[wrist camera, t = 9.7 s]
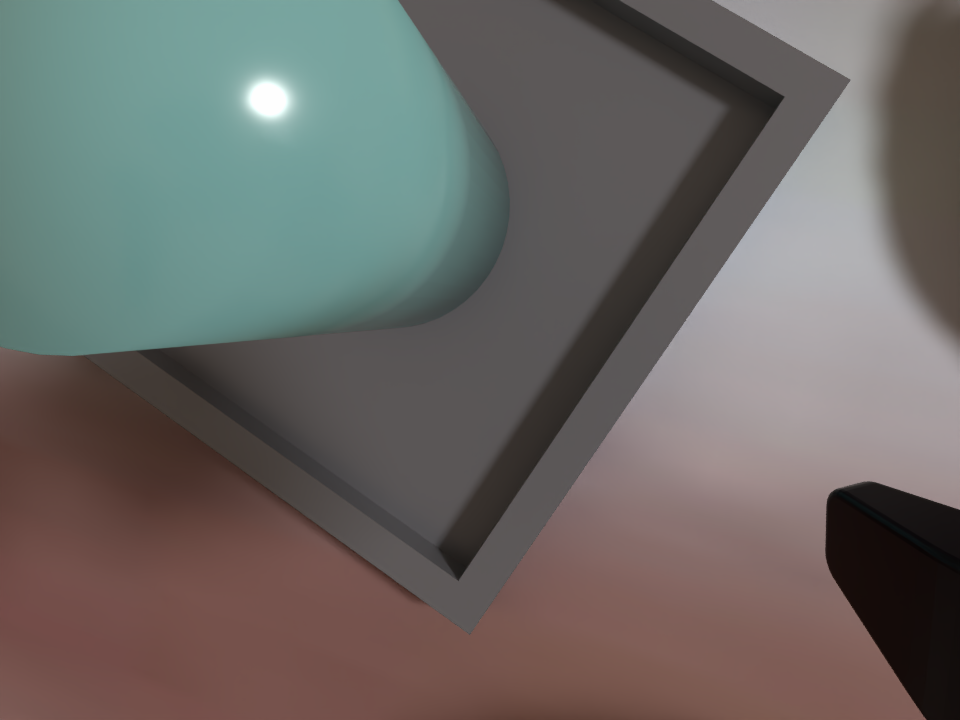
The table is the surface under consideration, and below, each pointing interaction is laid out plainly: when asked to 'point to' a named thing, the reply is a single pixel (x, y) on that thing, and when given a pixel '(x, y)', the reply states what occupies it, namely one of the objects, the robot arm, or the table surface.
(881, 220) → the table surface
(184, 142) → the green rounded cylinder
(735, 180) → the tray
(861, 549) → the robot arm
